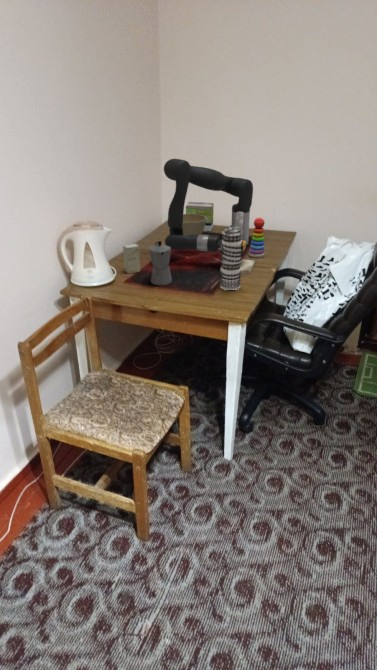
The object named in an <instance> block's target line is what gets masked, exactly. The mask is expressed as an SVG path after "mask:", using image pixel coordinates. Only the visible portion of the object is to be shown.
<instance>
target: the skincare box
mask: <svg viewBox="0 0 377 670" xmlns="http://www.w3.org/2000/svg"><path fill="white" fill-rule="evenodd" d="M122 246H123V247H122V248H123V262H124V271H125V272H126V273H127V274H133V273H134V274H135V273H139V272H141V263H140V262H141V260H140V257H141V256H140V246H139V245H138V244H137V243H132V244H124V245H122Z"/></svg>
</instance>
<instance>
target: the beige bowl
mask: <svg viewBox="0 0 377 670" xmlns="http://www.w3.org/2000/svg"><path fill="white" fill-rule="evenodd" d="M205 223H206V217H205V216H203V215H199V214H186V213H185V214H184V213H183V225H182V226H183V236H186V235H191V234H192V235H203V232H204V231H203V230H204V227H205Z"/></svg>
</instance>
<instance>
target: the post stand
mask: <svg viewBox="0 0 377 670" xmlns="http://www.w3.org/2000/svg"><path fill="white" fill-rule="evenodd" d="M236 228H239V229H240V231H242V235H243V212H237V216H236ZM241 254H242V255H243V252H242V253H241ZM240 258H241V259H242V257H240ZM255 264H256V260H254V259H253V260H252V259H242V261H241V262H240V267H241V274H245V275H247V274H248V275H251V274H252V271H253V269H254V267H255ZM221 267H222V265H221V266H220V268H219V272H221Z"/></svg>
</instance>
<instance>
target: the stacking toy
mask: <svg viewBox="0 0 377 670" xmlns="http://www.w3.org/2000/svg"><path fill="white" fill-rule="evenodd" d="M264 226H265V220H264V219H263V218H262V217H256V218H255V219H254V221H253V227H254V228H253V232H252V233H251V234H252V237H251V241H250V245H249V248H248V249H249V252H248V256H249V257H250V258H255V259H260V258H264V257H265V255H266V254H265V236H264V235H265V234H264V231H265V230H264Z"/></svg>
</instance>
